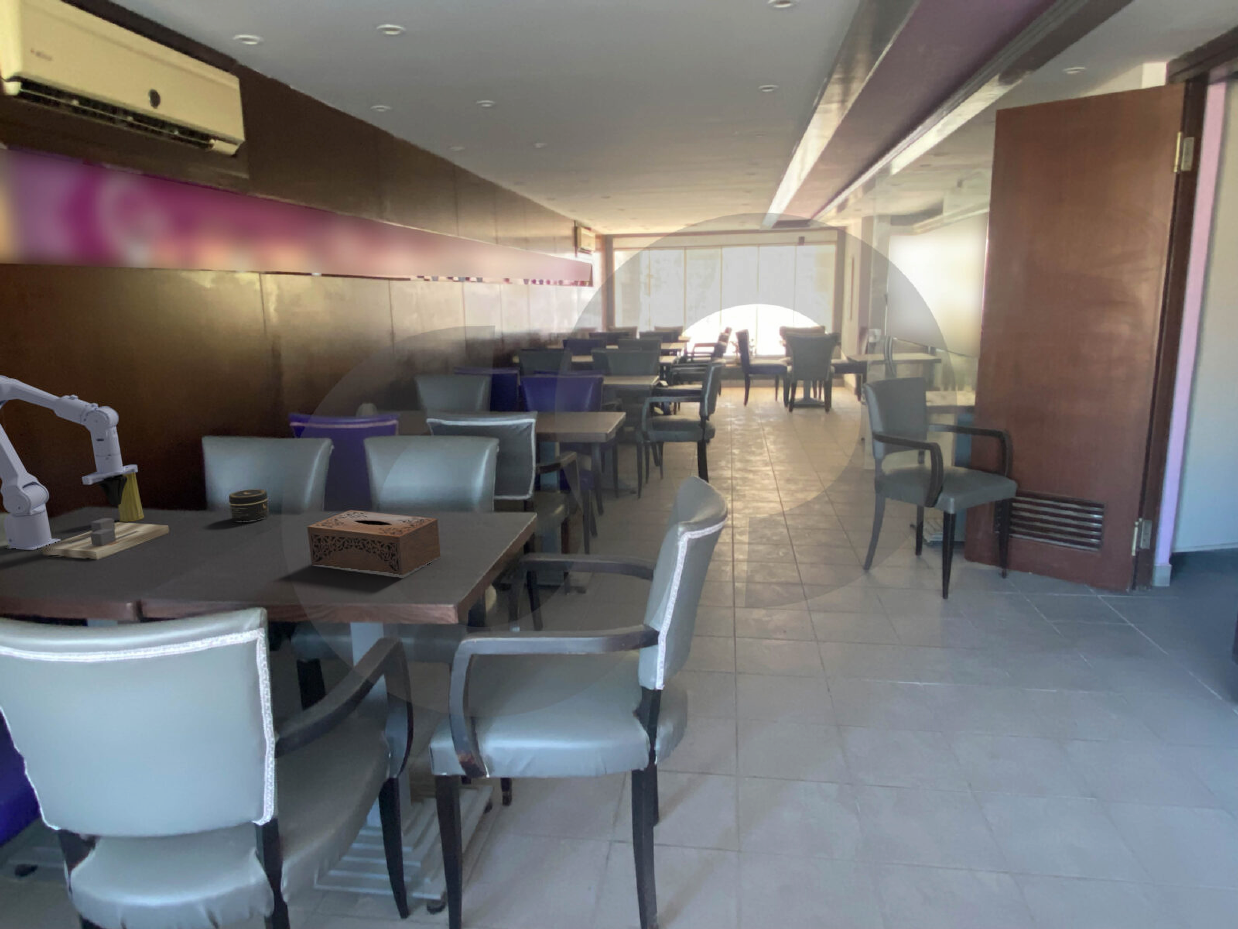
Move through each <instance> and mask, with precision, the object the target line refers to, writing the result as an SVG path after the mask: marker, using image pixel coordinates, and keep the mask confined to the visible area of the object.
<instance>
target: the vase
mask: <svg viewBox="0 0 1238 929" xmlns="http://www.w3.org/2000/svg"><path fill="white" fill-rule="evenodd" d="M123 476H125V477H127V482H126V484H125V486H124V489H123V493H122V500H121V504H120V505H117V506H118V512H119V522H121V523H133V522H137V521H140V520H142V519H144V518H145V515H144V512H143V507H142V502H141V498H140V493H139V492H140V491H139V487H138V482H137V481H138V480H137V476H136V472H135V473H129V474H125V475H123Z"/></svg>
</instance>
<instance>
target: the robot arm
mask: <svg viewBox="0 0 1238 929" xmlns="http://www.w3.org/2000/svg"><path fill="white" fill-rule="evenodd" d="M9 400H21V401H25V402H27V403H30V404H34V405H38V406H41V407H43V408H48V409H49V410H50V409H51V410H53V411H54V414H55V415H56V416H57V417H59V418H62V419H65V420H67V421H71V422H73V423H77V424H79V425H82V426H85V428H86V429H87V430H88V431H89V432H90V436H91V443H92V449H93V455H94V461H95V466H96V471H95V472H92V473H90V474H88V475H85V476H82V477H81V480H82V484H83V485H92V484H94V483H96V485H97V486H99V487H100V489H101V490H102V491H103V493H104V495H105V496H106V498H107V500H108V501H109V502H108V503H109V504H110V505H111V506H115V507H116V506H118V505H120V504H121V500H122V493H123V489H124V486H125V484H126V482H127V477H125V476H123V475H125V474H129V473H135V474H136V473H138V472H139V470H138V465H137V464H128V465H124V466H123V460H122V454H121V448H120V443H119V435H118V432H117V431H118V430H117V424H118V423H119V417H120V416H119V414H118V412H117V411H116V410H115V409H113V408H111V407H110V406H108V405H107V406H106V405H105V406H100V407H99V405H98V403H95V402H93V403H90V402H88V401H84V400H81V399H79V396H77V395H75V394H72V395H63V396H61V397H59V396H57V395H53V394H51V393H49V392H47V391H44V390H41V389H39V388H37V387H34V386H31V385H29V384H27V383H24V382H22V381H20V380H18V379H15V378H9V377H7V376H5V375H0V409H1V408H2V407H3V406H4V405H5V404H6V403H7V402H8V401H9ZM0 479H1V481H2V483H1V488H0V493H1V496H2V500H3V501H2V503H3V507H4V509H5V510H6V511H7V513H8V514H7V515H6V516H5V519H4V520H3V526H4V532H5V538H6V541H7V542H8V543H7V545H8V544H10V545H11V546H10V547H9V548H8V549H11V548H16V549H15V550H26V551H34V550H37V548H38V549H40V548H41V549H42V547H45V546H46V545H47V546H48V545H49V544H50V545H51V544H54V543H55V542H56V543H57V542H58V541H59V542H60V541H62V540H61V539H60V538H52V533H51V529H50V523H49V517H48V512H47V507H46V503H47V502H49V501H48V500H49V498H50V495H49V494H50V493H49V491H48V489H47V488H46V486H44V485H43V484H41V483H40V482H39V480H38V478H37V477H36V476H34V475H32V474H30V473H28V471H27V470H26V468H25V466H24V464H23V463H22V461H21V459H20V457H19V455H18V454H17V451H16V450H15V448H14V446H13V444H12V443H11V441H10V439H9V437H8V435H7V434H6V432H5V430H4V427H3V426H2V425H1V423H0Z"/></svg>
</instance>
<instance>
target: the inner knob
mask: <svg viewBox="0 0 1238 929" xmlns="http://www.w3.org/2000/svg"><path fill="white" fill-rule="evenodd" d="M114 523H115V520H114V518H110V517H109V518H108V517H103V518H99V519H96V520H94V521H90V528H91V531H92V533H93V532H96V531H99V530H102V529H114V530H115V524H114Z"/></svg>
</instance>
